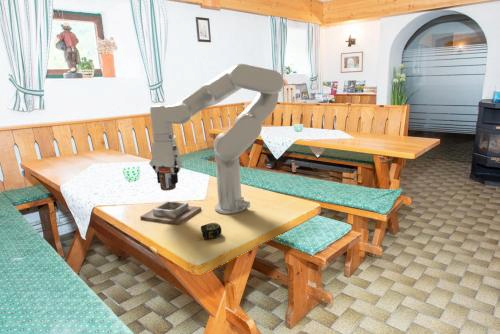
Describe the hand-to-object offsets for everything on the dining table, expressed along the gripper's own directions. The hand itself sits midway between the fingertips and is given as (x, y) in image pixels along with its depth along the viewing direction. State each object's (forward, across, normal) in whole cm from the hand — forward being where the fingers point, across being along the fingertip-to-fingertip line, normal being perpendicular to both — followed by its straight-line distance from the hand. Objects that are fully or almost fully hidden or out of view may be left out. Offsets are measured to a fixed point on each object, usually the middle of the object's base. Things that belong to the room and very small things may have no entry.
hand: (167, 182), depth 139 cm
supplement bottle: (+3, 0, 0) cm, 3 cm away
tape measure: (+14, -25, +13) cm, 32 cm away
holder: (+14, 0, 0) cm, 14 cm away
